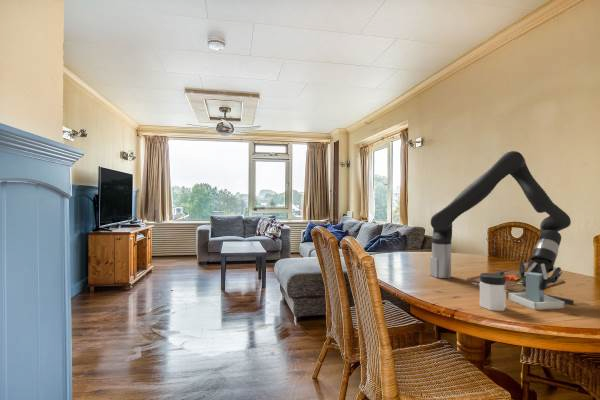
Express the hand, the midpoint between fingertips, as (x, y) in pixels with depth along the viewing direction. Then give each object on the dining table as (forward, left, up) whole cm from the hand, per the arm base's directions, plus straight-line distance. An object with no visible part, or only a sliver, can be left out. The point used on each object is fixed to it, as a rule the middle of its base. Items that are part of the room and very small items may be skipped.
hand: (533, 287), depth 123 cm
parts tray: (+2, +1, -7) cm, 7 cm away
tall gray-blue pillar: (+2, +1, -6) cm, 6 cm away
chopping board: (+21, +32, -7) cm, 39 cm away
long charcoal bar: (+13, +3, -7) cm, 14 cm away
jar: (-17, 0, -7) cm, 19 cm away
